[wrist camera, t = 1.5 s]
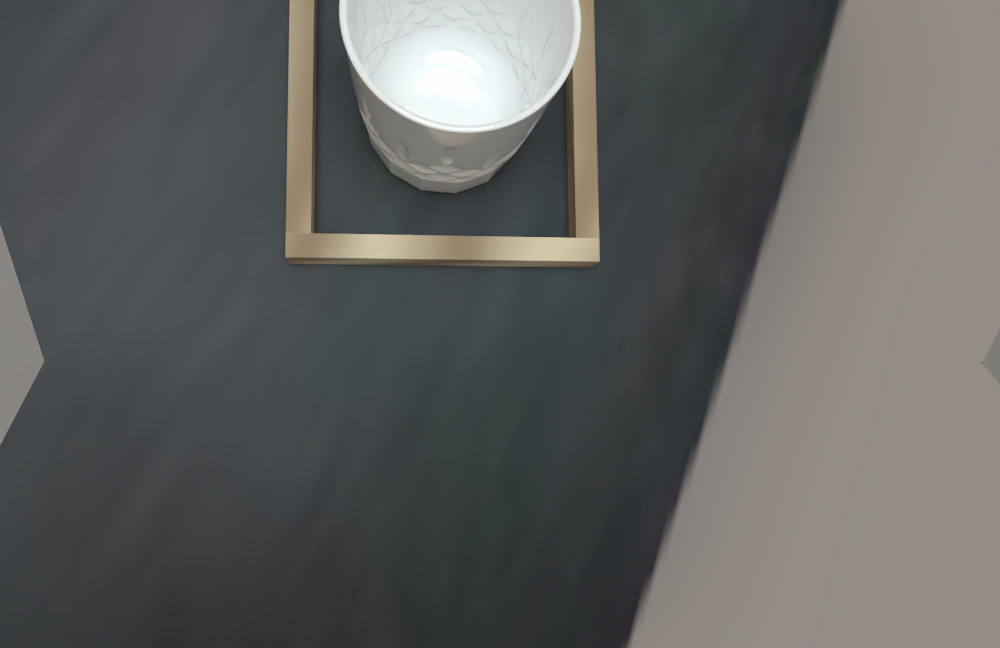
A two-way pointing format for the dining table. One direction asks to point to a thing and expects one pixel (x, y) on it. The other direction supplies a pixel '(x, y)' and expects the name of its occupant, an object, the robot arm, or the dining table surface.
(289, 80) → the tan flat square frame
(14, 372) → the robot arm
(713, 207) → the dining table surface
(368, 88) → the white cup
